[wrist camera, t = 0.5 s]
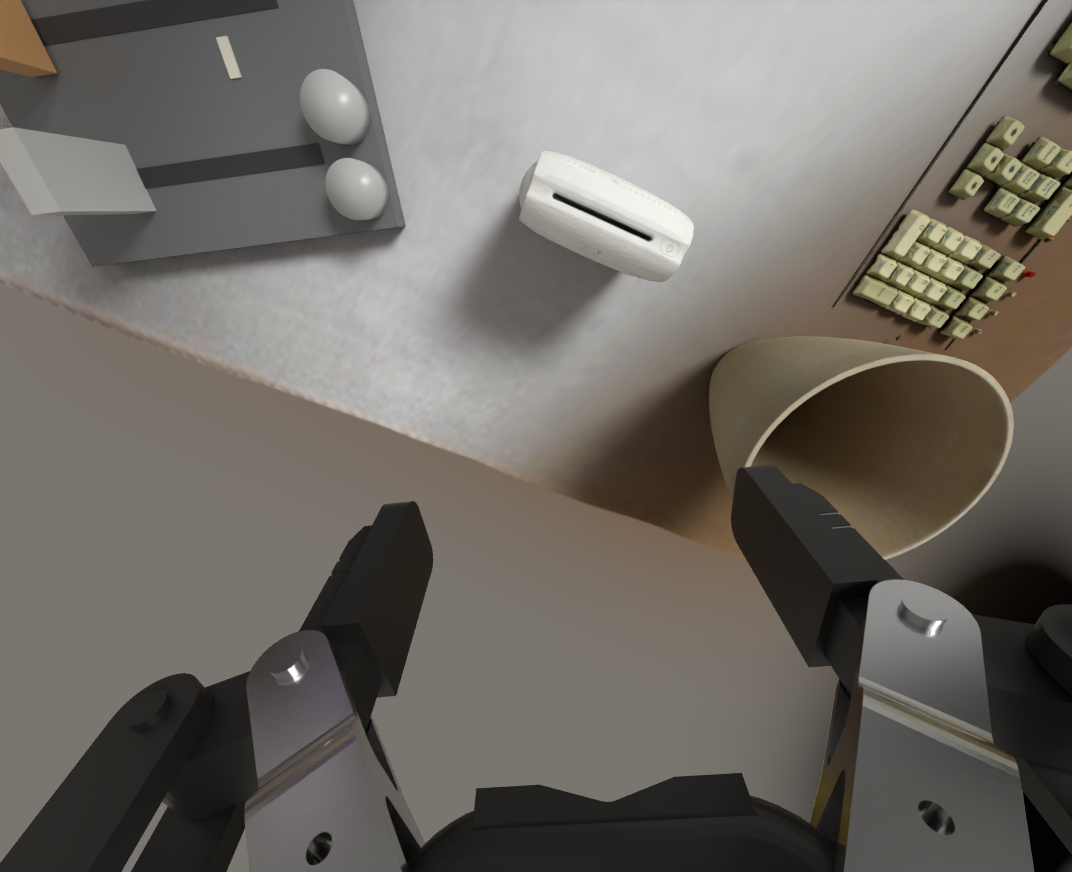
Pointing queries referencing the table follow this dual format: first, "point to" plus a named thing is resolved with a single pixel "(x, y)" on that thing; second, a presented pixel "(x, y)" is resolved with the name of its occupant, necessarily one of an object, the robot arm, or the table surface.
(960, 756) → the robot arm
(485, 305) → the table surface
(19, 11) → the fader cap
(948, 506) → the plant pot
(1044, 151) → the keyboard
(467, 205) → the table surface
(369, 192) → the console
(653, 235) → the photo printer
